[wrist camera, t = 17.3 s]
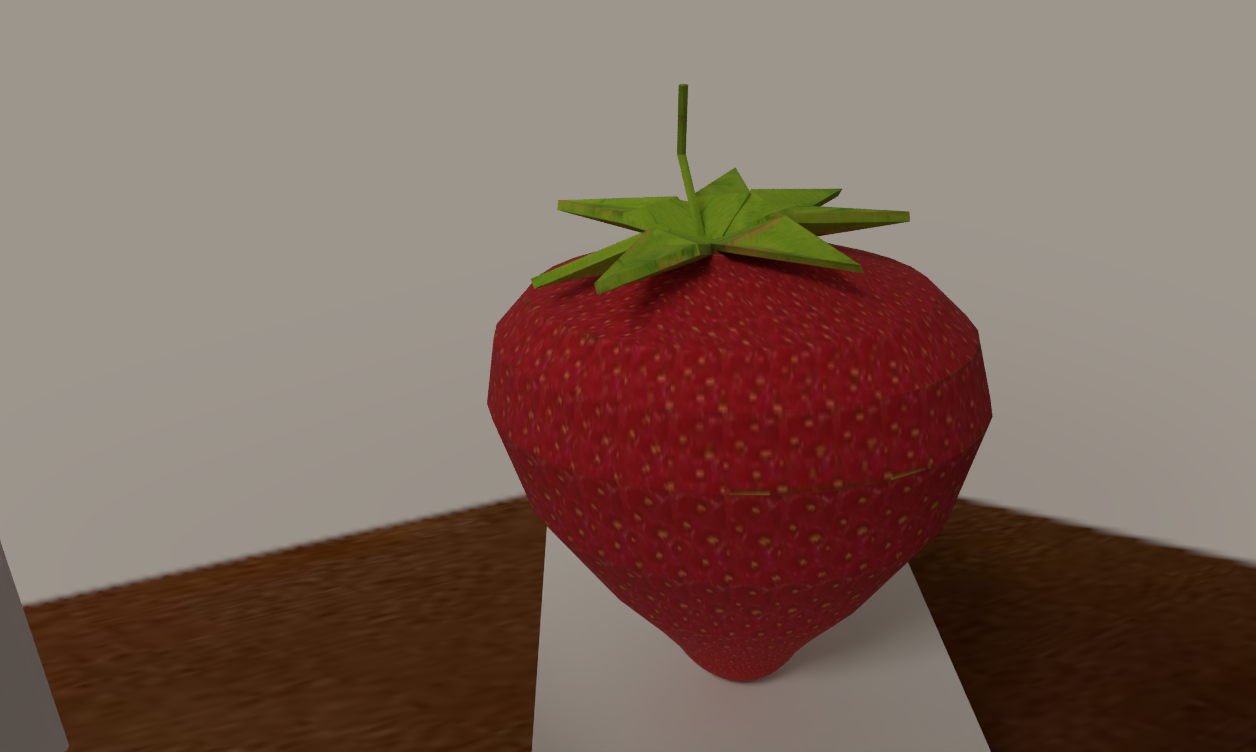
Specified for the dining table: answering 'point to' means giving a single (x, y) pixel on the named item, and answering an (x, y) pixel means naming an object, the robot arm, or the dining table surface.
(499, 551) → the dining table surface
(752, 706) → the block
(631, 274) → the strawberry
